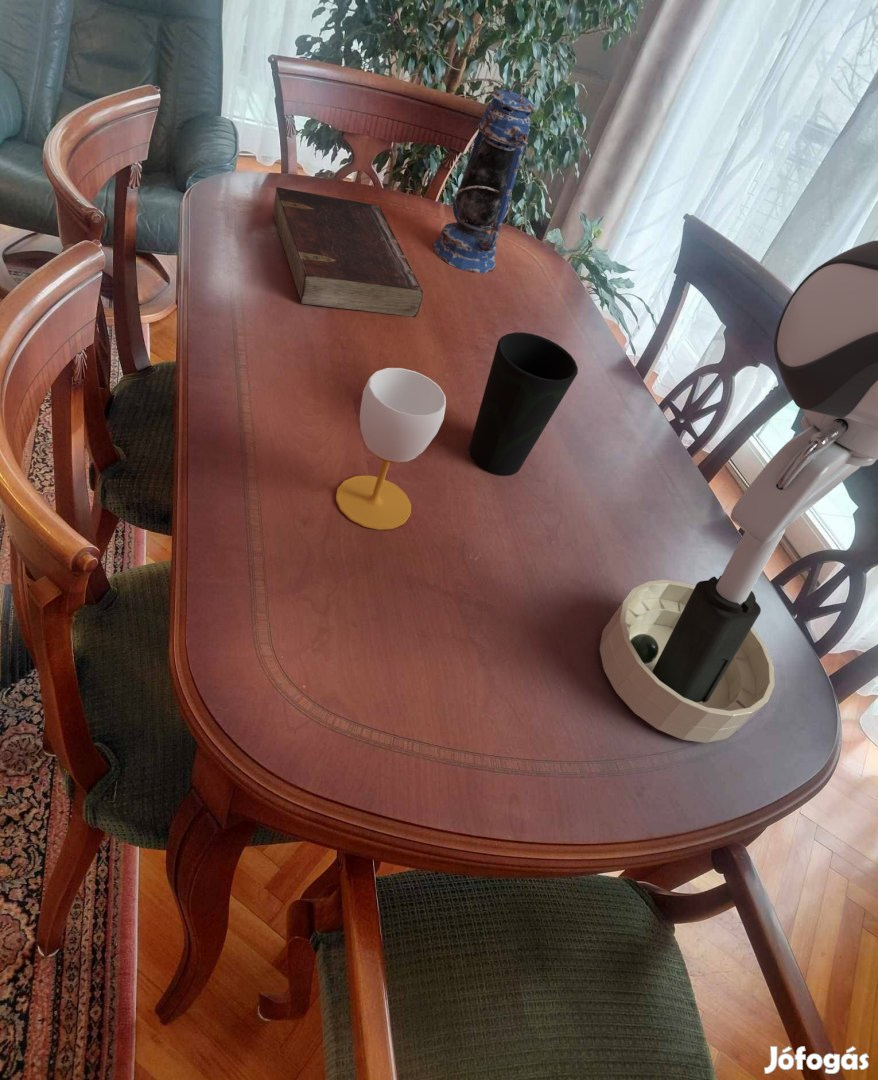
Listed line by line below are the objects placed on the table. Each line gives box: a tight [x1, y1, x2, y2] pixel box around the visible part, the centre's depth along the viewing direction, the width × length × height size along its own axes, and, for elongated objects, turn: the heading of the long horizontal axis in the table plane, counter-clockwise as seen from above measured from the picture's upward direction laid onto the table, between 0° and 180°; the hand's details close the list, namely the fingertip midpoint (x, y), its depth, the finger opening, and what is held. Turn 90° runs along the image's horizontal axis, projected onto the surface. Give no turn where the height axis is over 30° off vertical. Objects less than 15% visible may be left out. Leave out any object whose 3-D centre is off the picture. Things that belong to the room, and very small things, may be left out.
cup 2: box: [468, 331, 579, 477], centre depth 99 cm, size 10×10×16 cm
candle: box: [652, 528, 786, 703], centre depth 74 cm, size 5×5×25 cm
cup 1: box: [335, 367, 447, 531], centre depth 86 cm, size 9×9×16 cm
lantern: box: [432, 80, 537, 274], centre depth 136 cm, size 15×12×30 cm
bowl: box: [599, 579, 775, 744], centre depth 83 cm, size 17×17×6 cm
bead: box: [630, 634, 659, 664], centre depth 84 cm, size 3×3×3 cm
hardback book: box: [272, 186, 424, 318], centre depth 129 cm, size 29×19×5 cm, turn 17°
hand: (763, 532), depth 69 cm, fingers closed on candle, 3 cm apart
